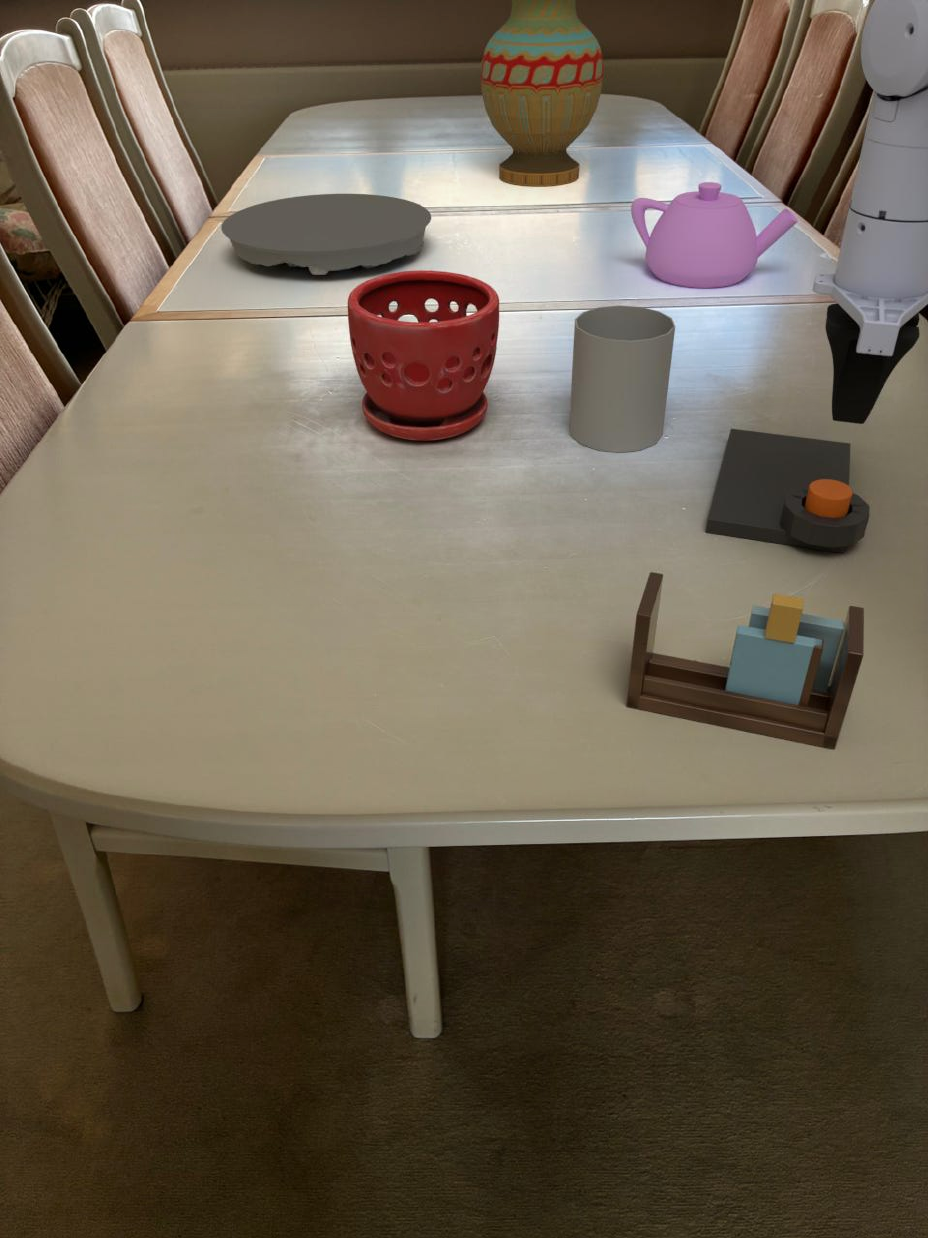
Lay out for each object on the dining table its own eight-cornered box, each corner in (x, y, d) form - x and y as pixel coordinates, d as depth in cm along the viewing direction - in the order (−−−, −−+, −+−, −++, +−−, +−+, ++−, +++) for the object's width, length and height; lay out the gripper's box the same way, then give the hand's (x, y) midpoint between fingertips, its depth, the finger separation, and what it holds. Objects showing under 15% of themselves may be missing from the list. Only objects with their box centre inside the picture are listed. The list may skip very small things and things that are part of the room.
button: (805, 496, 72) (810, 476, 71) (847, 502, 71) (853, 481, 70) (803, 516, 70) (808, 495, 69) (846, 523, 69) (852, 501, 68)
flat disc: (423, 220, 143) (422, 189, 141) (442, 280, 121) (441, 244, 119) (234, 230, 141) (229, 198, 138) (218, 293, 119) (212, 256, 116)
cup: (667, 452, 83) (681, 340, 77) (573, 452, 84) (579, 341, 78) (654, 410, 90) (666, 304, 84) (566, 411, 90) (572, 305, 84)
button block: (728, 440, 85) (734, 409, 83) (861, 457, 82) (870, 425, 80) (702, 542, 72) (708, 507, 70) (859, 566, 69) (869, 531, 67)
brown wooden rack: (837, 700, 58) (864, 607, 54) (835, 750, 54) (863, 655, 50) (639, 662, 61) (650, 571, 57) (625, 706, 58) (636, 613, 53)
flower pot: (331, 438, 87) (317, 307, 79) (398, 383, 96) (390, 261, 89) (463, 465, 82) (460, 328, 75) (519, 404, 92) (522, 278, 84)
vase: (619, 173, 165) (635, -37, 147) (549, 197, 153) (556, -29, 135) (529, 158, 176) (534, -40, 157) (457, 179, 164) (453, -33, 146)
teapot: (787, 296, 114) (805, 202, 108) (619, 286, 118) (627, 194, 112) (786, 261, 125) (802, 173, 118) (632, 253, 129) (639, 167, 123)
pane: (805, 705, 56) (833, 602, 51) (804, 717, 55) (833, 613, 50) (725, 689, 57) (745, 588, 52) (723, 700, 56) (743, 598, 52)
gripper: (833, 177, 64) (794, 370, 72) (825, 238, 53) (780, 457, 62) (946, 184, 62) (893, 381, 71) (962, 247, 51) (897, 472, 60)
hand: (848, 417), depth 66 cm, fingers closed
